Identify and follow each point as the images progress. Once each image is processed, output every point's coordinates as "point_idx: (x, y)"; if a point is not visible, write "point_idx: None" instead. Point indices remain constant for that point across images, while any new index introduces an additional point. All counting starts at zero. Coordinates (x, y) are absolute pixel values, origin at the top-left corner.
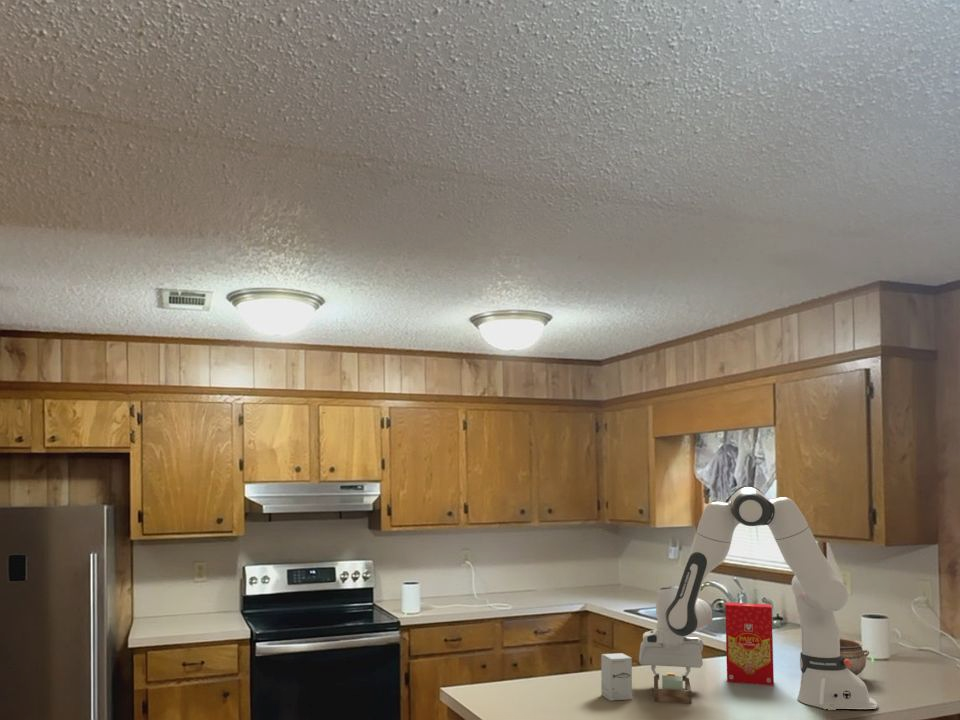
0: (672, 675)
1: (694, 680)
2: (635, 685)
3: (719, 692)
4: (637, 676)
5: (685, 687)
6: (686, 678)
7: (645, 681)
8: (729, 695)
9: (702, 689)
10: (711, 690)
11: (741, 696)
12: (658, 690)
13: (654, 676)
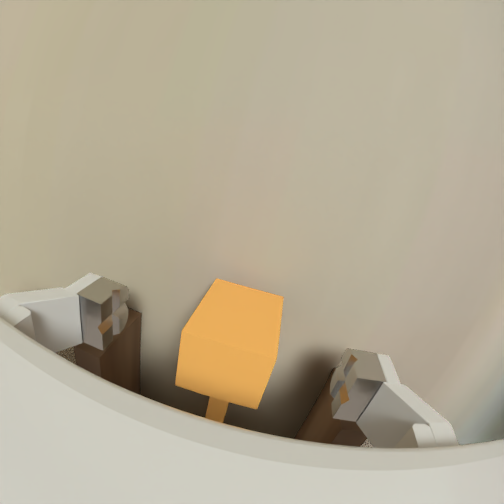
0: (231, 394)
1: (495, 120)
2: (32, 240)
3: (478, 405)
4: (80, 12)
5: (311, 428)
6: (346, 439)
7: (85, 130)
8: (477, 435)
9: (442, 366)
10: (471, 380)
11: (500, 435)
12: None
13: (77, 350)
